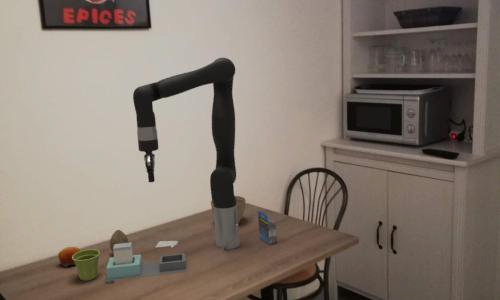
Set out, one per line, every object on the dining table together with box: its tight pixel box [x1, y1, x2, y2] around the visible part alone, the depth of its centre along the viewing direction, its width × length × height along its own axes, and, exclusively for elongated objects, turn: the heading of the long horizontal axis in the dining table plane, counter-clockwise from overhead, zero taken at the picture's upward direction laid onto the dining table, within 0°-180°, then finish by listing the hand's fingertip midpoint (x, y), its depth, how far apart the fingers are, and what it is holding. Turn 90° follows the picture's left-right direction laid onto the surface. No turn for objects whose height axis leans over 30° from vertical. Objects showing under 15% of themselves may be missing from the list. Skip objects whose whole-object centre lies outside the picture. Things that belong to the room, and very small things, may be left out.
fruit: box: [58, 246, 81, 268], centre depth 177 cm, size 8×8×8 cm
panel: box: [105, 252, 188, 285], centre depth 167 cm, size 28×12×5 cm, turn 99°
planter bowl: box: [210, 195, 246, 224], centre depth 213 cm, size 16×16×11 cm
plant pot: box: [72, 248, 101, 282], centre depth 164 cm, size 9×9×9 cm
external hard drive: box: [155, 240, 179, 249], centre depth 187 cm, size 2×8×12 cm
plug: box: [112, 242, 134, 265], centre depth 165 cm, size 6×4×10 cm, turn 99°
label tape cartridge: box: [257, 210, 277, 245], centre depth 190 cm, size 9×4×12 cm, turn 26°
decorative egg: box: [109, 229, 129, 252], centre depth 184 cm, size 7×7×10 cm
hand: (151, 181), depth 180 cm, fingers closed
